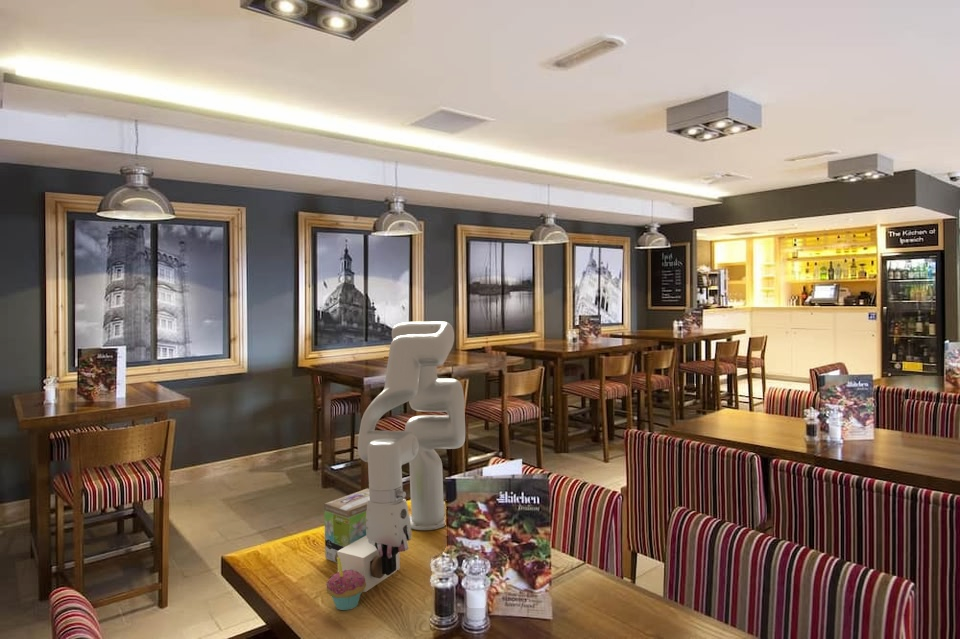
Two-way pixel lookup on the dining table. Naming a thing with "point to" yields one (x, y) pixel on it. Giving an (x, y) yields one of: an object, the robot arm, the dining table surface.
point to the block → (362, 560)
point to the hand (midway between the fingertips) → (389, 572)
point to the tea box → (345, 521)
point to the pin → (374, 567)
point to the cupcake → (345, 587)
